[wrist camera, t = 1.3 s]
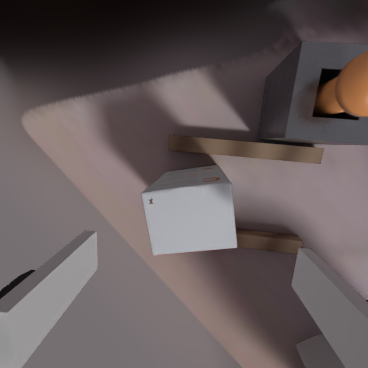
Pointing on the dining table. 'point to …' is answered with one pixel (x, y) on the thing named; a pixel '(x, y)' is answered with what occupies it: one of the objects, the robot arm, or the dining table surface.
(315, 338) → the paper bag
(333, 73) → the grey block with hole
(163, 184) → the small box
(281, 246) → the track
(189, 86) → the dining table surface
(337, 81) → the orange piece
